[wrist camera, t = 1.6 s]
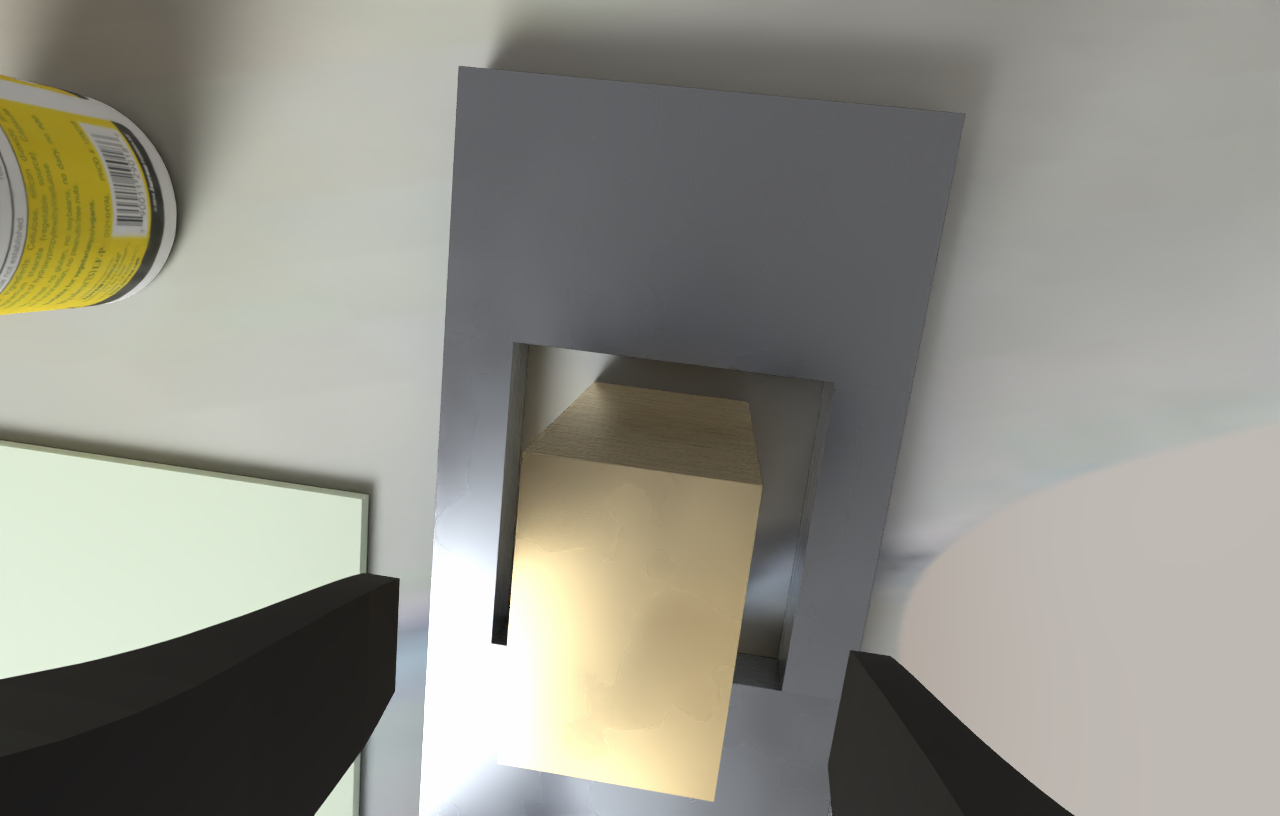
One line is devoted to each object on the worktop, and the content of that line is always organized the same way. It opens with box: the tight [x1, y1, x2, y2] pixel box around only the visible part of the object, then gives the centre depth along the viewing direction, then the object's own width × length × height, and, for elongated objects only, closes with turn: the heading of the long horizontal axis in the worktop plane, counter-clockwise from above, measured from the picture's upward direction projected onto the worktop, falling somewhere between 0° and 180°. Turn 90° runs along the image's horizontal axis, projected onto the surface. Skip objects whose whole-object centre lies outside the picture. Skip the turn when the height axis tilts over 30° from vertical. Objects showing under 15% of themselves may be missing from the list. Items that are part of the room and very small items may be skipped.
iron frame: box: [419, 66, 965, 816], centre depth 19 cm, size 20×11×2 cm, turn 174°
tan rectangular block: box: [498, 382, 763, 802], centre depth 16 cm, size 6×4×7 cm, turn 174°
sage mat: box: [0, 440, 369, 816], centre depth 22 cm, size 16×14×1 cm
